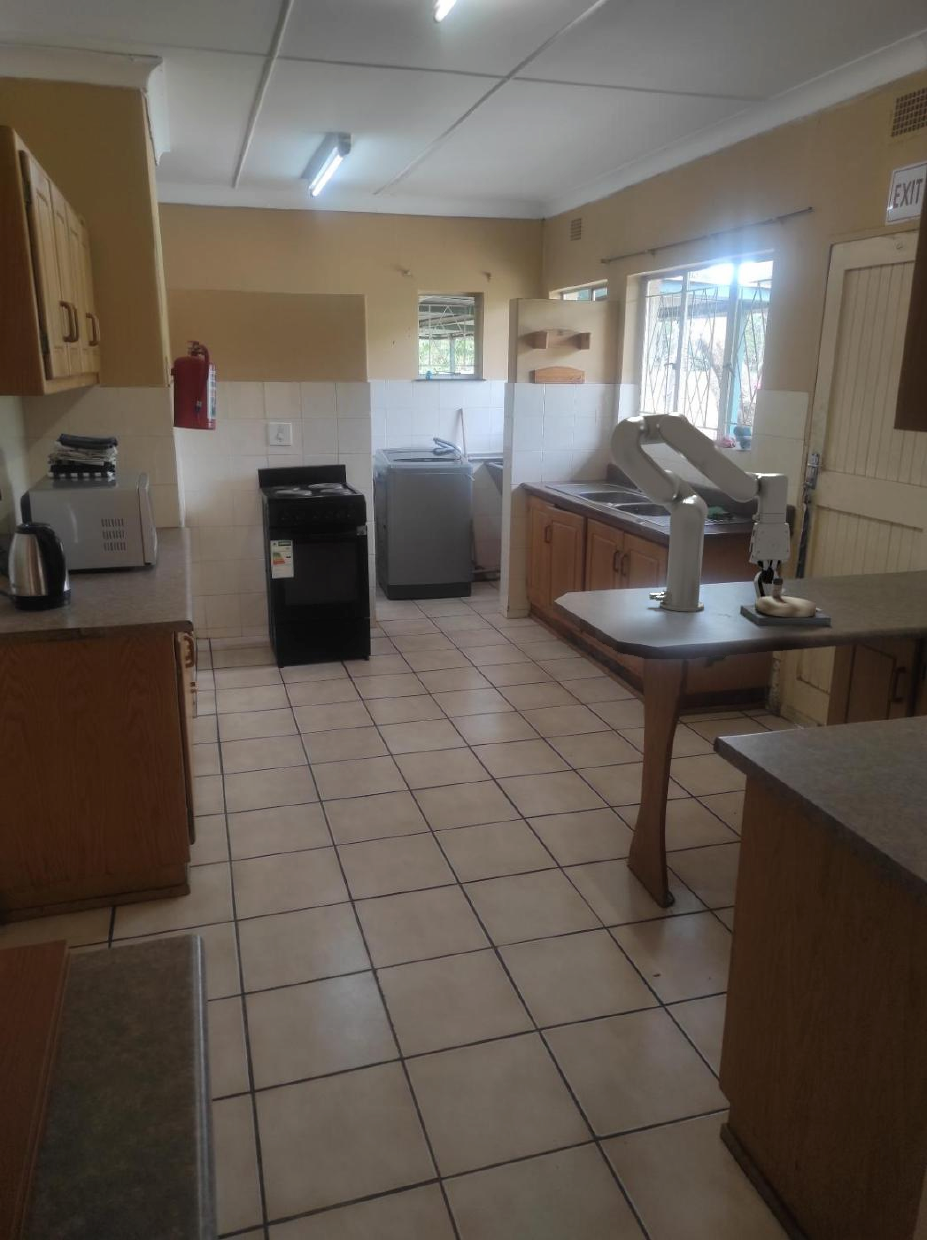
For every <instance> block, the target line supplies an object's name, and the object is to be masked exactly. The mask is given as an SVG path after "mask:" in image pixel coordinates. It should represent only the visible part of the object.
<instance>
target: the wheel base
mask: <svg viewBox="0 0 927 1240" xmlns="http://www.w3.org/2000/svg"><path fill="white" fill-rule="evenodd" d="M739 613H740V614H742V616H744V617H745V618H746V619H749V621H750V622H752V623H753V624H756V625H757V626H759V627H763V626H765V627H767V626H768V627H772V626H773V627H776V626H777V627H778V626H780V627H781V626H783V627H784V626H789V627H790V626H795V625H799V626H801V627H802V626H831V622H832V617H831V616H829V615H827V614H826V613H824V612H823V611H822V609H821V608H818V607H816V613H815V614H814V615H812V616H808V617H782V616H775V615H769V614H765V613H762V612H760V611H758V610H756V609H755V604H751V605H750V604H748V605H747V604H741V605H740V609H739Z"/></svg>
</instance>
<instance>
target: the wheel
mask: <svg viewBox="0 0 927 1240" xmlns="http://www.w3.org/2000/svg"><path fill="white" fill-rule="evenodd" d="M783 584H784V580H783V578H782V577H781V576H778V577H775V578H774V580H773V593H772V596H767V597H760V598H758V599H757V598H756V599H755V604H754V605H755V609H756V610H758V611H760V612H762V613H765V614H769V615H775V616H782V617H808V616H812V615H814V614H815V613H816V608H817V604H816V603H815V602H813V601H811V600H807V599H804V598H799V597H793V596H786V597H784V596H781V592H782V588H783Z"/></svg>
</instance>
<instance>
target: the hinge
mask: <svg viewBox="0 0 927 1240" xmlns="http://www.w3.org/2000/svg"><path fill="white" fill-rule="evenodd" d="M761 573H762V570H760V571H759V572H757V574H755V577H754V580H753V586H754V590H755V594H756V599H758V598H760V597H767V596H772V593H773V580H772V584H765V583H763V582H762V580H761ZM778 575H779V574H778V572H777V571H776V569H775V570H774V578H775V577H779V576H778ZM786 595H787V596H788V593H787V590H786V589H785V588H784V587H782V592H781V596H784V597H787V596H786Z"/></svg>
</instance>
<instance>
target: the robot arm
mask: <svg viewBox="0 0 927 1240" xmlns="http://www.w3.org/2000/svg"><path fill="white" fill-rule="evenodd" d="M657 444H660V445H661V444H665V445H666V446H668V447H669V448H670V449H671V450H673V451H674V452H675V453H677V454H678V455H679V456H680V457H682V458H683V459H685V461H687V462H688V464H691V465H692V466H693V467H694V468H695V469H696V470H697V471H698V472H700V473H701V474H702V475H704V477H706V478H707V479H708V480H709V481H710V482H711V483H712V484H714V485H715V486H716V487H718V489H719V490H721V491H722V492H723V493H725V494H726V495H727V496H729V497H730V498H731V499H732V500H734V501H736V502H737V503H738V502H739V503H747V502H750V501H751V500H753V499H754V498H757V499H758V501H757V512H756V513H755V514H752V517H751V518H752V520H753V521H756V522H754V525H753V528H752V532H751V536H750V545H749V555H750V557H749V560H748V562H749V563H751V564H756V565H757V566H758V567H759V568H760V569H761V571H762V573H761V580H762V582H763V583H765V584H772V580H774V570H775V571H776V569H777V567H778V566H780V565H782V564H785V563H788V561H789V558H790V555H791V533H790V525H789V523H787V506H788V492H789V477H788V475H786V474H785V473H779V472H778V473H777V472H775V473H773V472H770V473H769V472H768V473H759V472H758V473H756V472H753V471H751V472H749V471H744V470H743V469H742V468H741V467H739V466H737V465H736V464H735V463H734V462H733V461H732V460H731V459H730V458H729V457H728V456H726V455H725V453H724V451H722V449H721V448H720V446H719V445H718V444H717V443H716V442H715V441H714V440H713V439H711V438H710V437H709V436H708V435H706V434H704V433H703V432H702V431H701V430H700V429H698V428H697V427H696V426H694V424H692V423H691V421H689V419H688V418H687V416H686V415H684V414H683V413H680V412H677V411H675V412H674V411H673V412H668V413H661V414H659V413H658V414H652V415H651V414H649V415H639V416H631V417H626V418H623V419H622V420H620V421H619V422H618V423H617V425H616V426H615V427H614V429H613V432H612V435H611V437H610V453H611V456H612V459H613V460H614V463H615V464H616V466H617V467H618V469H620V470H621V472H623V473H624V475H626V477H627V478H629V480H630V481H631V482H632V483H633V484H634V486H636V487H637V489H639V490H640V491H641V492H642V493H643V495H644V496H646V497H647V499H648V500H649V501H650V502H651V503H652V504H654V505H657V506H660V507H661V506H663V507H664V509H665V510H666V511H668V512H669V513H670V517H669V542H668V543H669V546H668V558H667V560H668V561H667V562H668V563H667V574H666V575H667V576H666V587H665V588H666V589H663V590H662V591H661V592H660V593H659V592H658V593H655V592H654V593H653V592H650V593H649V595H648V596H649V600H654V601H657V602H659V607H661V608H663V609H665V610H670V611H673V612H674V611H675V612H686V613H688V612H698V611H702V610H703V609H704V608H705V604H704V602H702V601H700V592H701V591H700V590H701V576H702V566H703V555H704V554H703V553H704V552H703V551H704V540H705V539H704V536H705V527H706V526H705V524H706V520H707V518H708V515H709V508H708V504H707V502H705V500H704V499H703V498H702V497H701V496H700V495H699V494H698V493H697V492H696V490H694V489H693V488H692V487H691V486H690V485H689V484H688V483H687V482H686V481H685V480H684V479H683V478H682V477H681V476H680V475H679V474H677V473H676V472H674V471H671V470H668V469H664V468H662V467H661V466H660V464H658V463H657V462H656V460H654V458H653V457H652V456H650V455H649V454H648V453H647V452H645V450H644V449H643V447H642V446H645V445H646V446H647V445H648V446H649V445H657ZM768 561H769V562H768Z"/></svg>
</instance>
